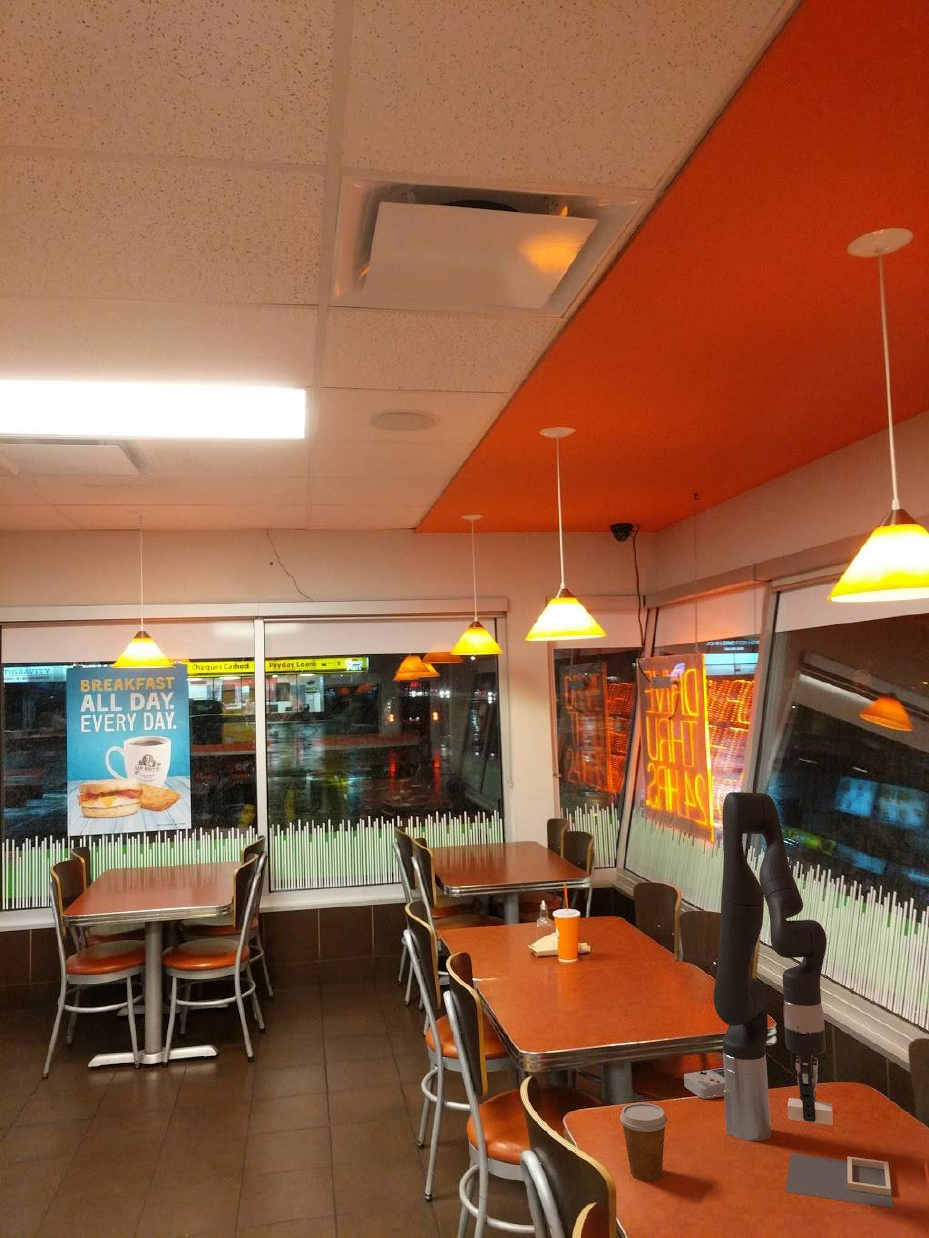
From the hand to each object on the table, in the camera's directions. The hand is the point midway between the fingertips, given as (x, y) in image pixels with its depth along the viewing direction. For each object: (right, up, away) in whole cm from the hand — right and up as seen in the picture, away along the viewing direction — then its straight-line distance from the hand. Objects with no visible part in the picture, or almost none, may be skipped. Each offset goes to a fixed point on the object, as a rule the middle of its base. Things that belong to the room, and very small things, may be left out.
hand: (810, 1115), depth 178 cm
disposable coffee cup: (-31, -16, +8) cm, 35 cm away
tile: (0, 0, 0) cm, 0 cm away
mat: (+6, -14, +2) cm, 16 cm away
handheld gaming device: (-4, -21, +49) cm, 53 cm away
